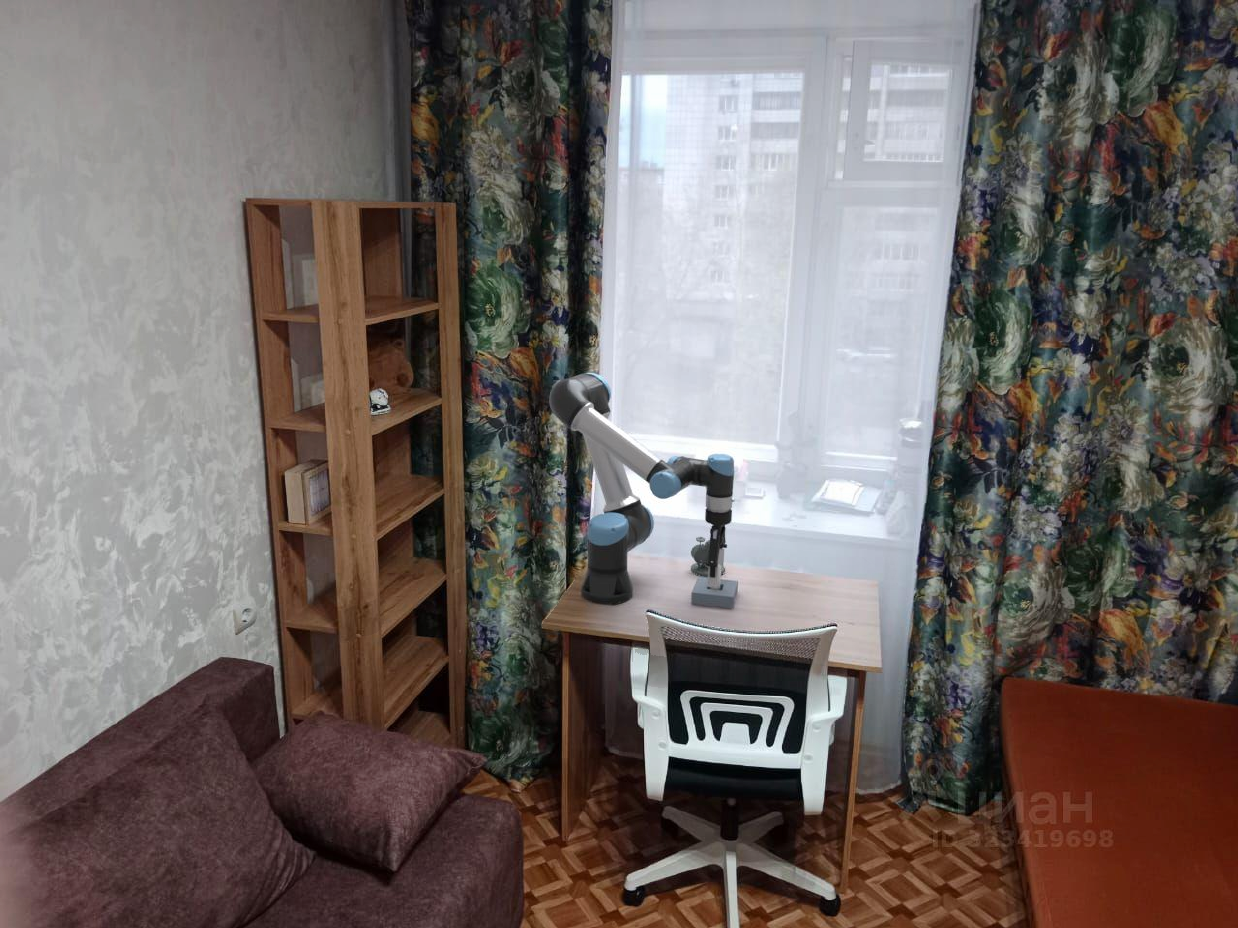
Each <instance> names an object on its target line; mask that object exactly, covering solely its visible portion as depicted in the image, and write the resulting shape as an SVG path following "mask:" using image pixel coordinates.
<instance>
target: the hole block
mask: <svg viewBox="0 0 1238 928" xmlns="http://www.w3.org/2000/svg"><path fill="white" fill-rule="evenodd" d="M738 587H739V580H733V579H731V580H730V579H724V578H723V579H722V578H721V584H720V590H714V589H710V587H708V577H701V576H697V578H696V581H695V583H694V586H693V589H692V591H691V594H690V595H691V599H690V604H691V605H701V606H702V605H703V606H709V607H717V608H718V607H719V608H725V609H726V608H728V609H733V608H734V605H735V602H736V598H737V596H738V591H739V590H738V589H739V588H738Z"/></svg>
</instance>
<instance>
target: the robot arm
mask: <svg viewBox="0 0 1238 928" xmlns="http://www.w3.org/2000/svg"><path fill="white" fill-rule="evenodd" d="M611 396H612V391H611V387H610V385H609V383H608V381H607V380H606V379H605V378H604V377H603V376H601V375H599V374H597V373H594V372H586V373H579V374H578V375H574V376H571V377H567V378H565V379H562V380H560V381H558V382H557V383H555V385H553V387H552V388H551V390H550V394H549V398H548V399H549V401H548V402H549V407H550V409H551V411H552V413H553V415H554V416H555V417H556V418H557V420H559V422H561V423H562V424H563V425H565V426H566V427H567V428H568V429H570V430H571V431H573V432H580V433H581V434H582V435H583V436H582V437H583V439H584V442H585V445H586V448H587V450H588V454H589V457H590V459H591V463H592V466H593V469H594V472H595V474H596V478H597V481H598V483H599V486H600V489H601V492H602V496H603V499H604V501H605V505H604V508H603V509H602V510H603V513H600V514H599V513H598V514H597V515H595V516H593V517H592V518H591V519H590V520H589V521H588V524H587V531H586V538H587V541H586V542H587V549H586V550H587V552H586V553H587V570H586V572H585V575H584V578H583V581H582V584H581V587H580V588H581V591H580V592H581V594H580V595H581V597H582V598H583V599H584V600H586V601H588V602H590V603H594V604H598V605H599V604H600V605H616V604H621V603H622V604H623V603H625V602H627V601H629V600H630V599H631V598H632V597H633V596H634V595H633V592H634V590H633V589H634V587H633V583H632V581H631V578H630V577H631V576H630V574H629V571H628V554H629V552H631V551H632V550H633V549H634V548H636V547H638V546H639V545H641V544H643V543H644V542H645V541H646V540H647V539H649V537H650V536H651V534H652V533H653V531H654V525H655V521H654V516H653V513H652V512H651V511H650V509H649V508H648V507H646V506H645V505H644V504H643V503H642V502H641V498H640V497H639V496H637V495H635V494H634V493H633V490H632V487H631V485H630V481H629V478H628V475H627V472H626V469H625V467H627V468H628V469H629V470H631V471H632V472H633V473H635V474H636V475H637V476H639V477H640V478H641V479H643V480H644V481H645V482H646V483H648V484H649V485H648V486H649V490H650V491H651V493H652V495H653V496H655V497H656V498H657V499H661V500H665V499H669V498H672V497H674V496H676V495H678V494H679V493H680V491H681V492H682V490H685V489H686V488H687V487H690V486H698V487H704V488H705V489H706V491H705V492H706V493H705V507H706V508H705V513H704V514H705V515H704V517H705V518H704V519H705V520H704V521H705V522H706V523H708V524H711V528H710V530H709V531H710V532H709V534H710V536H709V540H710V547H709V557H708V563H706V566H708V577H707V578H708V587H714V588H717V583H718V564H719V565H721V570H723V568H725V566H724V565H725V564H724V563H725V549H727V548H728V543H726V525H729V524H731V523H732V521H733V517H732V516H733V510H732V508H733V502H736V501H735V500H736V499H735V498H734V497H733V495H734V493H733V492H734V482H735V481H734V480H735V479H734V477H735V460H734V458H733V456H731V455H729V454H724V453H712V454H709V456H708V457H707V459H705V460H704V459H701V458H700V459H698V458H693V457H692V458H691V457H686V456H677V455H673V456H670V458H668V461H667V462H666V461H664V460H663V459H662V458H660V457H659V456H658V455H657V454H655V453H653V451H651V450H650V449H648V448H647V447H645V446H644V445H643V444H642V443H641V442H639V441H638V440H636V439H635V438H634V437H632V436H631V435H629V434H628V433H627V432H625V431H624V430H623V429H621V428H620V427H619V426H617V425H616V424H615V423H614V422H612V421H611V420H609V417H610V416H611V411H612V410H611V408H610V405H609V403H610V400H611V398H612V397H611ZM624 466H625V467H624Z"/></svg>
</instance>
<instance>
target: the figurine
mask: <svg viewBox="0 0 1238 928" xmlns="http://www.w3.org/2000/svg"><path fill="white" fill-rule="evenodd" d="M695 540H696V542H699V544H696V545H694V546H693V547H692V549H691V551H690V555H691V558H693V560H694V562H695V563H692V565H691V566H690V571H692V572H693V573H695V574H697V575H696V576H698V575H700V576H699V577H701V576H704V577H705V578H708V566H706V563H708V557H709V547H710V539H708V540H707V541H706V538H705V537H703V536H698V537H696V538H695ZM701 543H702V544H701ZM703 543H704V544H703ZM692 572H691V573H692ZM724 572H725V573H726V568H725V567H724V568H723V570H721V576H723V575H724V574H725V573H724ZM723 573H724V574H723ZM695 574H694V575H695ZM722 574H723V575H722Z"/></svg>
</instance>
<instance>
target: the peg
mask: <svg viewBox="0 0 1238 928" xmlns="http://www.w3.org/2000/svg"><path fill="white" fill-rule="evenodd" d="M721 579H722V575H721V565H719V564H718V583H717V588H714V587H710V589H714V590H720V584H721Z"/></svg>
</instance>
